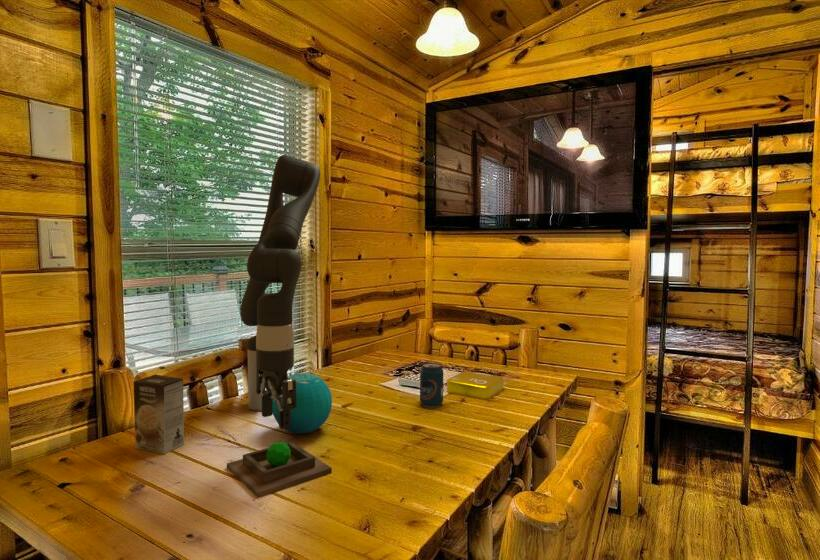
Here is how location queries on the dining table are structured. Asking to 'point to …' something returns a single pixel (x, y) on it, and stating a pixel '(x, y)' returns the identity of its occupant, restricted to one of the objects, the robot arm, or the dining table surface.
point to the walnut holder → (277, 470)
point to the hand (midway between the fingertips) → (275, 421)
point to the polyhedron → (278, 454)
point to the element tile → (475, 385)
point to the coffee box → (159, 413)
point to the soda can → (431, 385)
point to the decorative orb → (308, 404)
